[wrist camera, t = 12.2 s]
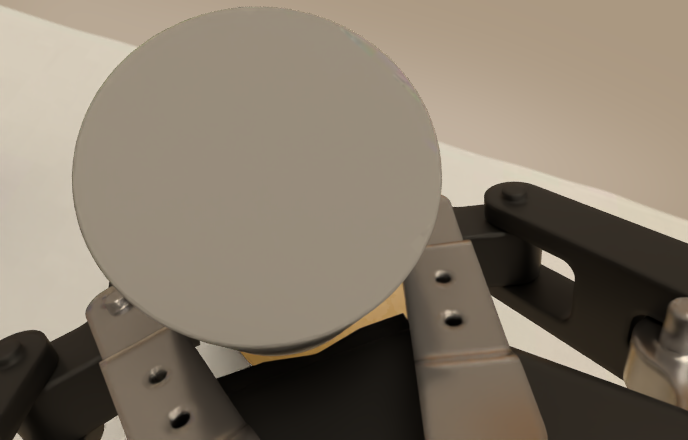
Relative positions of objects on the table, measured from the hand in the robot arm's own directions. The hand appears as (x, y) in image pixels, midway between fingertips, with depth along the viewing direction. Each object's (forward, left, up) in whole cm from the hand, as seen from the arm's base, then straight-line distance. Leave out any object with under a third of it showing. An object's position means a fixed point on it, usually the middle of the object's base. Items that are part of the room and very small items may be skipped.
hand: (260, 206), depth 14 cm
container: (0, -2, -7) cm, 8 cm away
